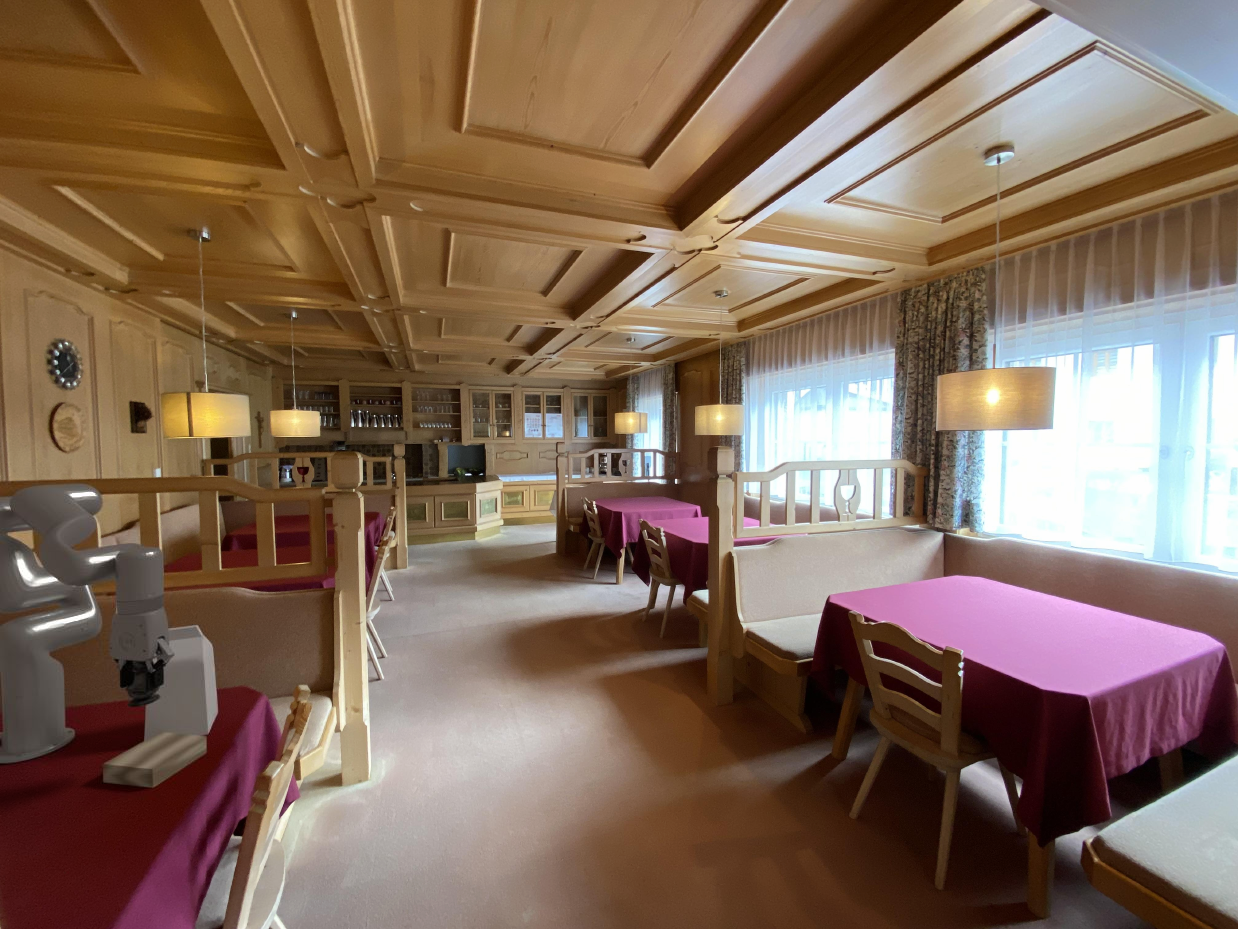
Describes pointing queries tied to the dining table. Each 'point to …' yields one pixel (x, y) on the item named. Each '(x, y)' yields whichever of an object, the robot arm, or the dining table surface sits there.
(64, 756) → the dining table surface
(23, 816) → the dining table surface
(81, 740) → the dining table surface
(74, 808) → the dining table surface
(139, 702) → the black chess piece
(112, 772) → the beech block
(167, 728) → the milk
